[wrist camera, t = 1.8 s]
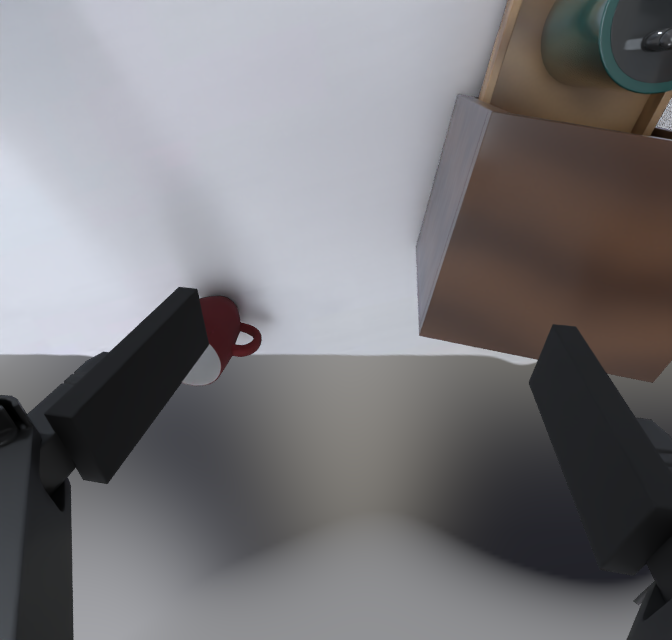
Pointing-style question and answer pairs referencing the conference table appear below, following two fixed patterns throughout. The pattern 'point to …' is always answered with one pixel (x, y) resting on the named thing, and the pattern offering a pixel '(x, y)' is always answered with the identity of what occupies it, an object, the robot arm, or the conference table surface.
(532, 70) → the drawer
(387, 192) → the conference table surface
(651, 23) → the pen pot
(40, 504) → the robot arm
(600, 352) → the open wooden box
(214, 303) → the mug
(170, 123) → the conference table surface
